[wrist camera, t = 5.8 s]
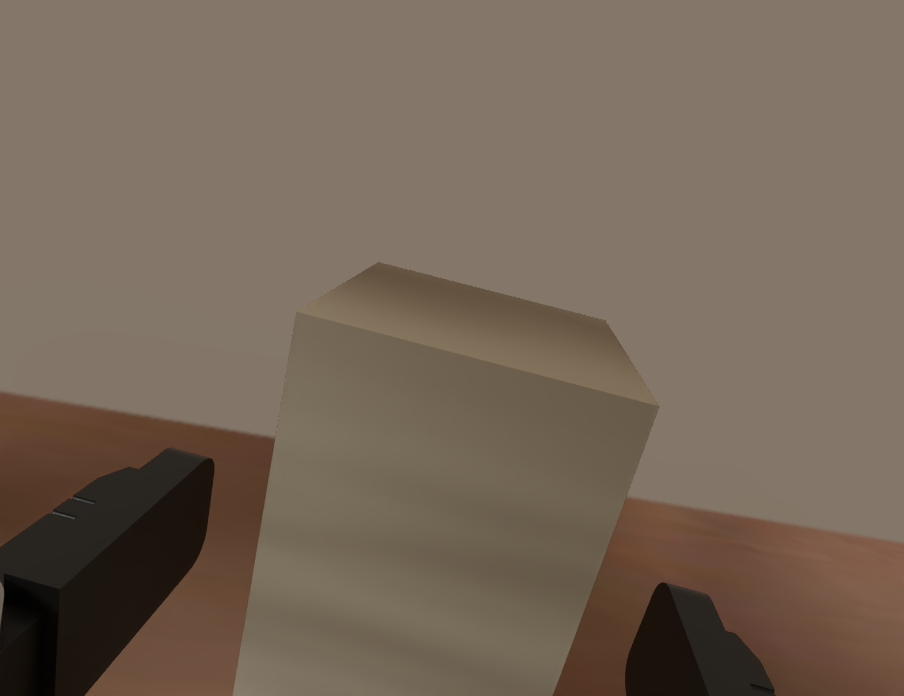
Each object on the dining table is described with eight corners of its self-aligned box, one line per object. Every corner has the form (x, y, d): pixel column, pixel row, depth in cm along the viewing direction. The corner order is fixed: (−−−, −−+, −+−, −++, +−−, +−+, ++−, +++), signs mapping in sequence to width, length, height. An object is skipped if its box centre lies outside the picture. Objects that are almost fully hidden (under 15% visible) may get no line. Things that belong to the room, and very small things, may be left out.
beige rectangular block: (415, 1066, 10) (659, 405, 6) (183, 996, 10) (296, 311, 6) (444, 816, 14) (605, 320, 10) (275, 768, 14) (378, 262, 10)
